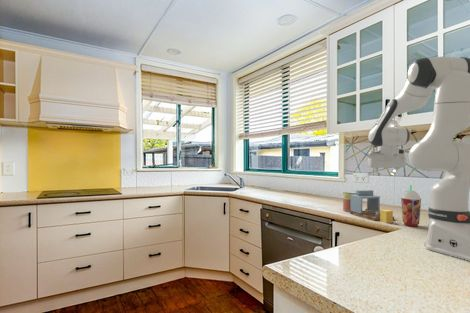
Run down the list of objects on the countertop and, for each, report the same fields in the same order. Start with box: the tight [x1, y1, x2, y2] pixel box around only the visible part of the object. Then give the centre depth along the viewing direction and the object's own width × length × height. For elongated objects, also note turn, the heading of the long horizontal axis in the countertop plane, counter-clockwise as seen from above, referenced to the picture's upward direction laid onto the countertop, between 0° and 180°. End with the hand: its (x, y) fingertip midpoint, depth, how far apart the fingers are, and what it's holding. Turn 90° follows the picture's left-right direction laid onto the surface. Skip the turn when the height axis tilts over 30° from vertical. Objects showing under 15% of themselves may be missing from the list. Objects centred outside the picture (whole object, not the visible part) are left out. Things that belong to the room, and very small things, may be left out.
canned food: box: [342, 190, 356, 213], centre depth 169 cm, size 11×11×12 cm
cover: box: [351, 189, 381, 214], centre depth 157 cm, size 9×13×12 cm
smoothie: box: [400, 184, 422, 228], centre depth 132 cm, size 8×8×20 cm
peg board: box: [349, 208, 395, 222], centre depth 152 cm, size 19×13×4 cm
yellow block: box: [379, 209, 394, 224], centre depth 139 cm, size 4×4×6 cm
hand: (385, 175), depth 146 cm, fingers open, 8 cm apart
